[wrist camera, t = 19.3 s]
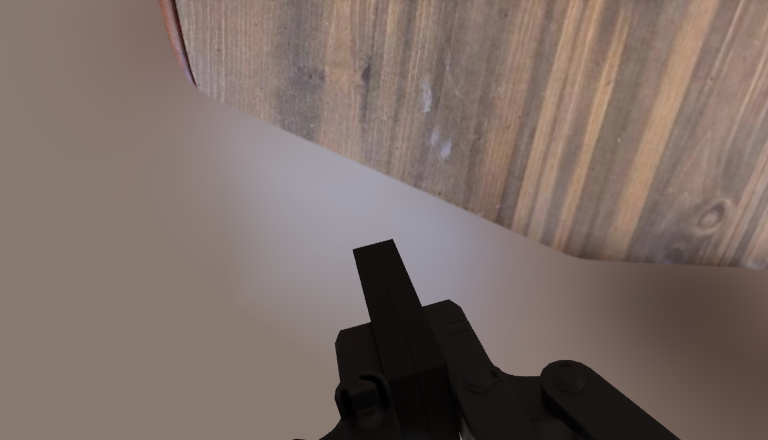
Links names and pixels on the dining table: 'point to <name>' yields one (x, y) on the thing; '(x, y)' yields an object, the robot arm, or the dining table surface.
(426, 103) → the dining table surface
